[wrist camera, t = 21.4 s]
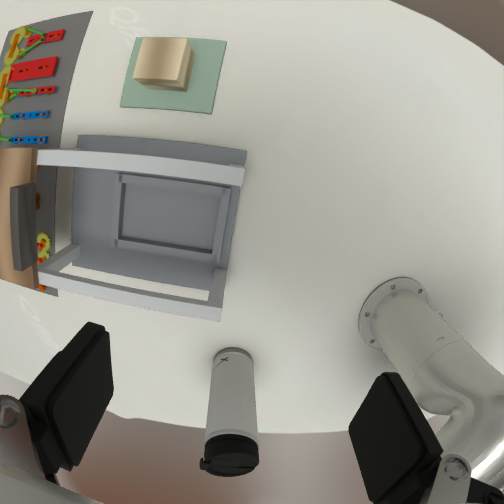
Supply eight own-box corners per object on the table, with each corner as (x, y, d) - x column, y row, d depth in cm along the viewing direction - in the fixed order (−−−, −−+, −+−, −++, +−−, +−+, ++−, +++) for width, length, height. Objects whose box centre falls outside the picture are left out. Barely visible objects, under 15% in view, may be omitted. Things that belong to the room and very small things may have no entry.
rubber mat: (226, 43, 30) (226, 41, 30) (211, 114, 33) (210, 113, 33) (138, 39, 29) (136, 37, 28) (121, 107, 32) (119, 106, 31)
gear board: (3, 28, 23) (88, 6, 25) (10, 31, 25) (95, 12, 27) (-20, 277, 36) (52, 301, 38) (-13, 272, 39) (59, 294, 41)
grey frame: (246, 151, 35) (248, 148, 24) (223, 286, 40) (218, 336, 29) (85, 135, 33) (32, 133, 22) (78, 260, 38) (34, 295, 27)
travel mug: (214, 343, 43) (202, 452, 24) (257, 350, 44) (266, 459, 25) (208, 373, 45) (196, 477, 26) (248, 379, 46) (253, 483, 27)
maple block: (195, 55, 30) (187, 38, 24) (186, 91, 31) (176, 80, 26) (157, 53, 30) (143, 37, 24) (148, 89, 31) (132, 78, 25)
